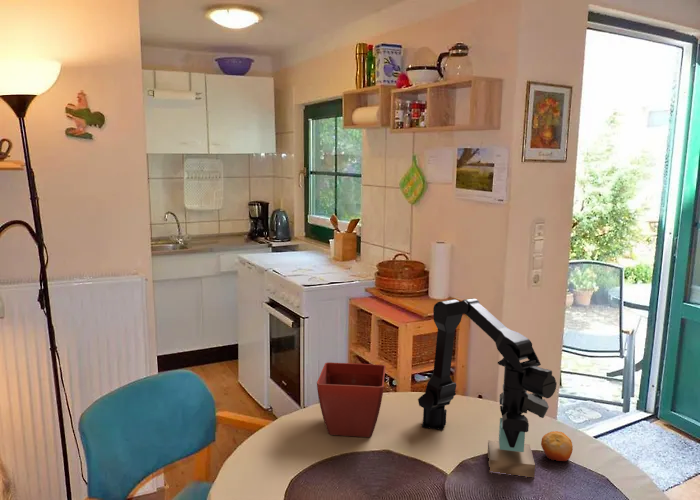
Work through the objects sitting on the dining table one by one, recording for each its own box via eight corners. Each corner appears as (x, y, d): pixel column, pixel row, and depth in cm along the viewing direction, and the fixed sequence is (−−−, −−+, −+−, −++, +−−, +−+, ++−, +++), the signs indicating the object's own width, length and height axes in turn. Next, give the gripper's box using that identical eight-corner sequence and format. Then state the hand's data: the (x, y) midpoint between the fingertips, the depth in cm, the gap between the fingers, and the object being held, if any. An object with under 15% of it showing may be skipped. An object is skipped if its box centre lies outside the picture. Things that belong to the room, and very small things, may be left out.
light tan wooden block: (489, 474, 144) (490, 460, 144) (487, 453, 155) (488, 440, 154) (534, 479, 142) (535, 464, 142) (528, 458, 153) (529, 444, 152)
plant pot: (324, 411, 179) (325, 361, 177) (384, 415, 177) (385, 364, 175) (315, 439, 160) (316, 383, 158) (381, 444, 158) (383, 387, 156)
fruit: (571, 445, 157) (573, 428, 152) (571, 471, 151) (573, 454, 146) (540, 440, 159) (542, 424, 154) (539, 465, 153) (541, 449, 149)
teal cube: (499, 449, 145) (501, 427, 145) (498, 438, 151) (500, 417, 150) (523, 452, 144) (525, 430, 143) (521, 441, 150) (523, 420, 149)
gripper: (552, 402, 135) (547, 463, 137) (543, 375, 153) (539, 429, 155) (504, 397, 137) (500, 457, 139) (500, 371, 155) (497, 425, 157)
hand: (511, 441), depth 148 cm, fingers closed on teal cube, 6 cm apart
